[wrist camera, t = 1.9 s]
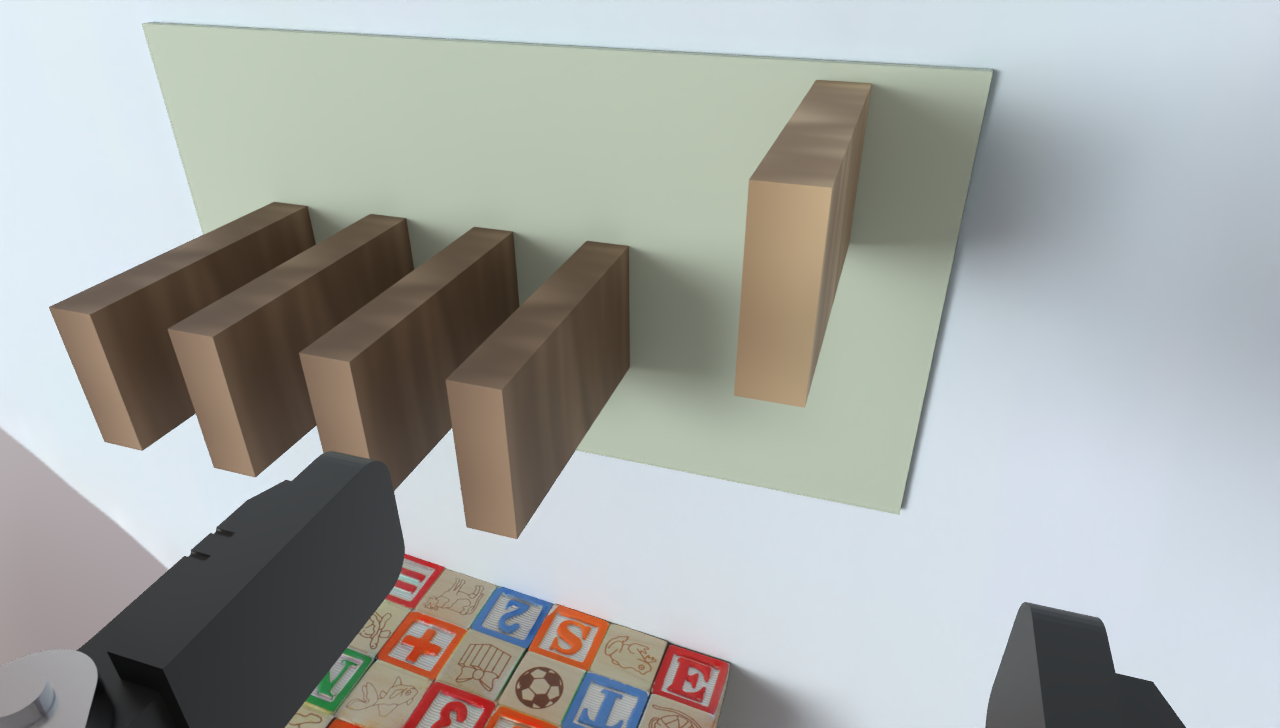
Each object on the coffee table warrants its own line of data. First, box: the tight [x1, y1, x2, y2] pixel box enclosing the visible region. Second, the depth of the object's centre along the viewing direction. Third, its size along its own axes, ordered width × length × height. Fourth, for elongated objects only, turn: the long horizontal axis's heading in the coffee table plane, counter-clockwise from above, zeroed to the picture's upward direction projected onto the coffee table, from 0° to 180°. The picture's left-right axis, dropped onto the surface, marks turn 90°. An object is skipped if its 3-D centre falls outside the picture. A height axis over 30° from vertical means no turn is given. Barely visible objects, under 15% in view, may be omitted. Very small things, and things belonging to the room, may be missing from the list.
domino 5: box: [734, 80, 872, 408], centre depth 21 cm, size 2×5×10 cm, turn 0°
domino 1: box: [49, 202, 316, 451], centre depth 30 cm, size 2×5×10 cm, turn 1°
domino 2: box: [168, 214, 414, 477], centre depth 28 cm, size 2×5×10 cm, turn 1°
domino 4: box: [446, 241, 630, 539], centre depth 26 cm, size 2×5×10 cm, turn 0°
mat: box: [142, 22, 993, 514], centre depth 31 cm, size 30×16×1 cm, turn 90°
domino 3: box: [299, 227, 520, 491], centre depth 27 cm, size 2×5×10 cm, turn 0°
